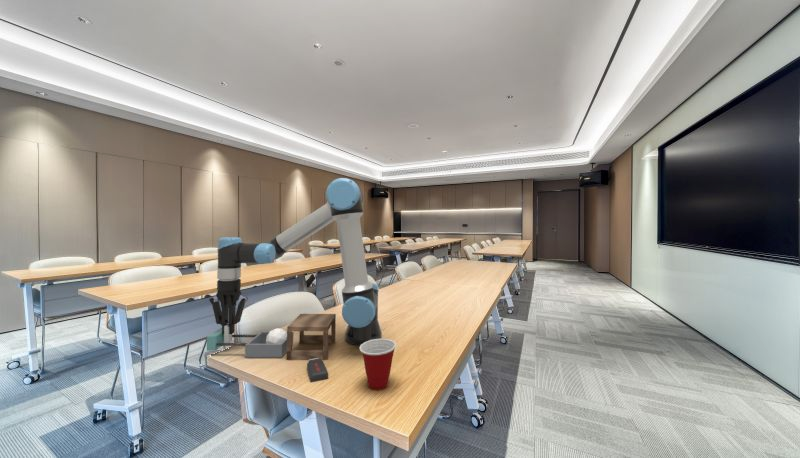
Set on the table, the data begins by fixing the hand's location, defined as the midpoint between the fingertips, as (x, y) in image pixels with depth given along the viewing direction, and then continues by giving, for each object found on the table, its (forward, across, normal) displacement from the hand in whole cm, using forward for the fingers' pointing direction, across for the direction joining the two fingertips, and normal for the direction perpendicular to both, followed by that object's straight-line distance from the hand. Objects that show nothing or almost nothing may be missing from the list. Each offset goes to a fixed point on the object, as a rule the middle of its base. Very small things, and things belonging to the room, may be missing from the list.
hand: (228, 342), depth 106 cm
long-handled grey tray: (+3, -9, 0) cm, 9 cm away
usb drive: (+4, -36, +16) cm, 40 cm away
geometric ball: (+3, -17, -1) cm, 18 cm away
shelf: (+3, -31, 0) cm, 31 cm away
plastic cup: (+3, -56, +24) cm, 61 cm away
